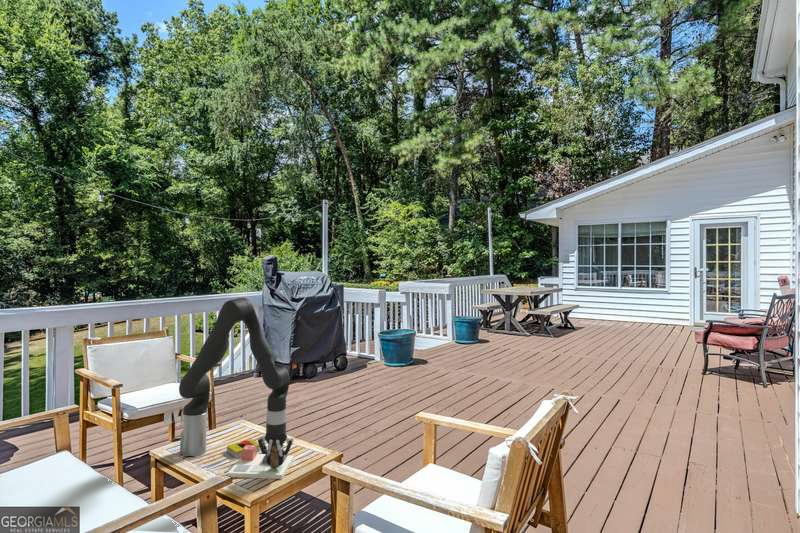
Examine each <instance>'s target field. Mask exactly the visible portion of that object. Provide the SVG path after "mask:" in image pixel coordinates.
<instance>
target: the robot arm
mask: <svg viewBox="0 0 800 533" xmlns="http://www.w3.org/2000/svg"><path fill="white" fill-rule="evenodd" d="M215 320H216V321H215V323H214V325H213V327H212V328H211V330H210V333H209V334H208V336H207V338H206V339H205V341H204V343H203V344H202V347H201V348H200V351H199V352H198V355H197V356H196V358H195V359H194V361H193V362H192V364H191V366H190V367H189V369H188V370H187V372H186V373H185V374H184V376H183V377H181V378H182V379H181V380H180V382H179V386H178V391H179V395H180V396H181V397H182V398H183V399H185V400H186V399H188V400H189V399H191V400H190V401H189V402H188V403H187V404H186V405H184V407H183V410H182V431H180V438H179V439H180V440H179V441H180V442H179V446H180V448H179V455H180V454H183V455H185V456H195V457H199V456H202V455H203V454H205V453H206V451H207V431H208V430H207V426H208V425H207V423H208V422H207V421H208V420H207V419H208V407H209V405H210V404H209V403H210V394H211V393H210V392H211V381H210V377H209V376H208V375H207V374H208V373H209V372H210V371H211V370H212V369H214V368H215V367H216V366H217V365H218V364H220V362H221V361H222V359H224V357H225V355H226V353H227V351H228V349H229V345H230V341H229V340H230V339H229V334H230V332H231V330H232V329H233V328H234V326H235V325H236V324H237V323H239V322H243V323H244V325H245V326H246V328H247V330H248V335H249V347H250V351H251V353H252V355H253V357H254V359H255V362H257V364H258V367H259V369H260V374H261V378H262V380H263V383H264V384H265V386H266V387H267V388H268V389H270V390H271V393H270V394H269V395H268V396H267V405H266V408H267V410H266V416H265V417H266V420H265V435H264V436H261V437H259V439H257V443H259V446H260V449H261V451H260V452H261V454H266V455H267V464H268V465H270V456H271V447H272V446H274V445H275V446H277V447H278V451H279V455H280V456H279V466H281V465H282V464H283V462H284V455H287V454H288V455H289V452H290V451H291V447H292V445H293V442H294V438H290V437H288V435H287V420H288V419H287V418H288V417H287V396H288V392H289V387H290V384H291V383H290V382H291V375H290V373H289V370H288V369H286V368H285V367H278V368H277V367H276V365H275V363H276V361H277V356H276V354H275V353H274V350H273V349H272V346H270V345H271V344H269V342H268V340H267V338H266V336H265V334H264V331H263V328H262V324H261V323H260V320H259V318H258V315H257V312H256V310H255V307H254V304H252V301H251V300H250V299H249V298H247V297H237V298H233V299H229V300H227V301H225V302H224V303H223V305H222V306H221V308H220V311H219V312H218V316H217V319H215ZM265 442H266V443H267V446H268V447H267V446H266V443H265ZM285 442H286V447H285V446H284V443H285ZM284 447H285V448H284ZM183 455H182V456H183ZM185 456H184V457H185Z"/></svg>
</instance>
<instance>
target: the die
mask: <svg viewBox="0 0 800 533" xmlns="http://www.w3.org/2000/svg"><path fill="white" fill-rule="evenodd" d="M257 454H258V452H257V445H245V446H244V448H243V449H242V460H243V461H253V460H254V458H255V457H256V455H257Z"/></svg>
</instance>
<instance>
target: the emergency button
mask: <svg viewBox="0 0 800 533" xmlns="http://www.w3.org/2000/svg"><path fill="white" fill-rule="evenodd" d="M245 445H257V453H258V452H261V449H260V446H259V443H258V441H255V440H254V439H252V438H249V439H246V440H242V441H239V442H235V443H231V444H228V445H226V450H225V451H223V452H222V453H221V455H223V457H226V458H227V459H229V460H230V461H233V460H236V459H240V458H241V457H242V449H243V448H244V446H245Z"/></svg>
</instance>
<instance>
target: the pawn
mask: <svg viewBox="0 0 800 533" xmlns="http://www.w3.org/2000/svg"><path fill="white" fill-rule="evenodd" d="M279 456H280V455H279V451H278V447H277V446H275V445H274V446H272V447H271V456H270V468H273V469H275V468H278V467H280V466H279Z"/></svg>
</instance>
